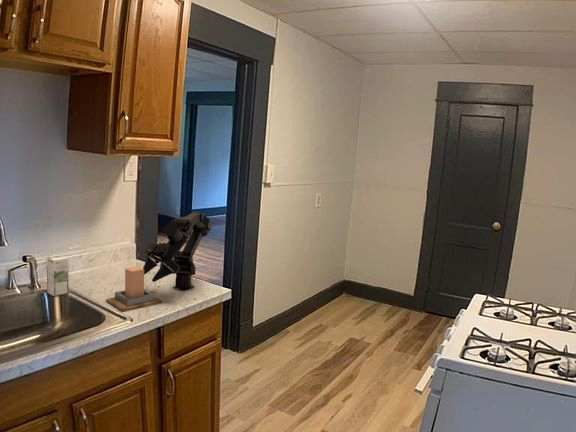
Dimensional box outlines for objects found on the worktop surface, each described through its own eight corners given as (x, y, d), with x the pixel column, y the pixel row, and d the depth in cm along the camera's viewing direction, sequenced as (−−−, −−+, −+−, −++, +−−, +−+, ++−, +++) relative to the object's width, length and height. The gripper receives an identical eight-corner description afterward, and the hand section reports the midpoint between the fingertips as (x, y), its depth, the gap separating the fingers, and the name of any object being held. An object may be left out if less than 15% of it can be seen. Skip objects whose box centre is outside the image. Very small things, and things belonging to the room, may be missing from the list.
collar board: (145, 293, 184) (145, 285, 184) (162, 302, 175) (162, 294, 174) (106, 301, 173) (106, 292, 172) (121, 312, 164) (121, 302, 163)
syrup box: (62, 289, 183) (61, 254, 180) (69, 293, 179) (68, 257, 176) (47, 293, 178) (46, 256, 176) (54, 297, 174) (53, 259, 172)
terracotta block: (137, 296, 177) (137, 266, 175) (143, 300, 174) (144, 269, 172) (125, 299, 174) (125, 268, 172) (131, 303, 170) (131, 271, 168)
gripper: (148, 229, 184) (121, 260, 178) (172, 238, 171) (144, 272, 165) (166, 246, 191) (141, 276, 185) (190, 256, 177) (164, 289, 172)
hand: (147, 278), depth 176 cm, fingers open, 9 cm apart
